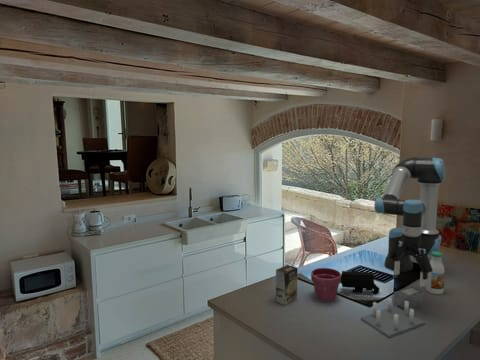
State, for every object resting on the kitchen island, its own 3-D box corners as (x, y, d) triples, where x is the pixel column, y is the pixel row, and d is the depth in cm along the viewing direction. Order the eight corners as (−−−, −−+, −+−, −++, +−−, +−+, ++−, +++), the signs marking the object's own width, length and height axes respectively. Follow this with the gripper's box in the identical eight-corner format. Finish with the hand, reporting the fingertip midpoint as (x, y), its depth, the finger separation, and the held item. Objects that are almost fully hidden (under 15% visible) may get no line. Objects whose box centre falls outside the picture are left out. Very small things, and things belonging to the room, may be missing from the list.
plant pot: (316, 288, 179) (316, 265, 177) (343, 294, 172) (344, 270, 170) (307, 300, 167) (307, 275, 165) (336, 307, 160) (336, 281, 158)
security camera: (380, 296, 169) (380, 277, 167) (340, 294, 173) (341, 275, 171) (377, 290, 176) (378, 271, 174) (339, 288, 179) (340, 269, 178)
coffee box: (286, 305, 162) (285, 273, 160) (275, 301, 167) (275, 269, 165) (297, 299, 169) (297, 267, 167) (287, 294, 173) (287, 264, 171)
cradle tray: (395, 307, 158) (395, 293, 157) (425, 324, 145) (426, 308, 144) (360, 319, 149) (361, 304, 148) (388, 337, 136) (389, 321, 135)
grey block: (411, 300, 165) (412, 286, 164) (422, 306, 159) (423, 291, 158) (393, 306, 160) (393, 291, 159) (404, 312, 154) (405, 297, 153)
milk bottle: (423, 291, 173) (425, 253, 170) (428, 286, 179) (430, 249, 176) (441, 296, 168) (443, 256, 165) (445, 290, 173) (447, 252, 171)
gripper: (383, 229, 164) (381, 271, 167) (431, 243, 142) (428, 292, 145) (394, 226, 167) (392, 268, 170) (443, 240, 145) (440, 288, 148)
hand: (409, 279), depth 157 cm, fingers open, 13 cm apart
